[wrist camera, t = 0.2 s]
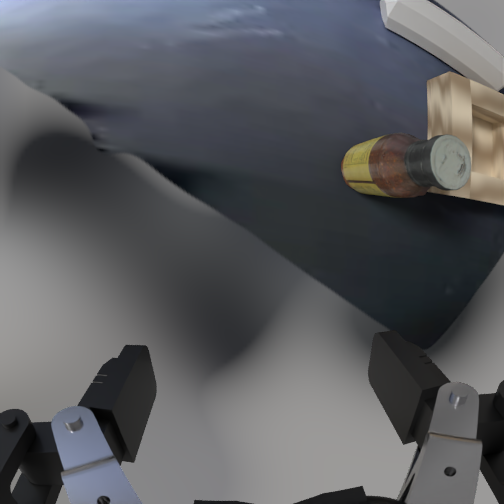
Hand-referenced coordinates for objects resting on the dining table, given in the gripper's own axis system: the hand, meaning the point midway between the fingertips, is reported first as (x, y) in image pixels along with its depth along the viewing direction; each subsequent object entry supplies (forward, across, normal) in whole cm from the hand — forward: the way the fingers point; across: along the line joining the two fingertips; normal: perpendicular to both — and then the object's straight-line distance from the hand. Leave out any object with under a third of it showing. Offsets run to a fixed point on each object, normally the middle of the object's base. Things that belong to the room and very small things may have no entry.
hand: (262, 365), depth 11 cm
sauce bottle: (+30, -14, -7) cm, 34 cm away
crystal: (+30, -30, -27) cm, 50 cm away
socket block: (+29, -33, -11) cm, 46 cm away
